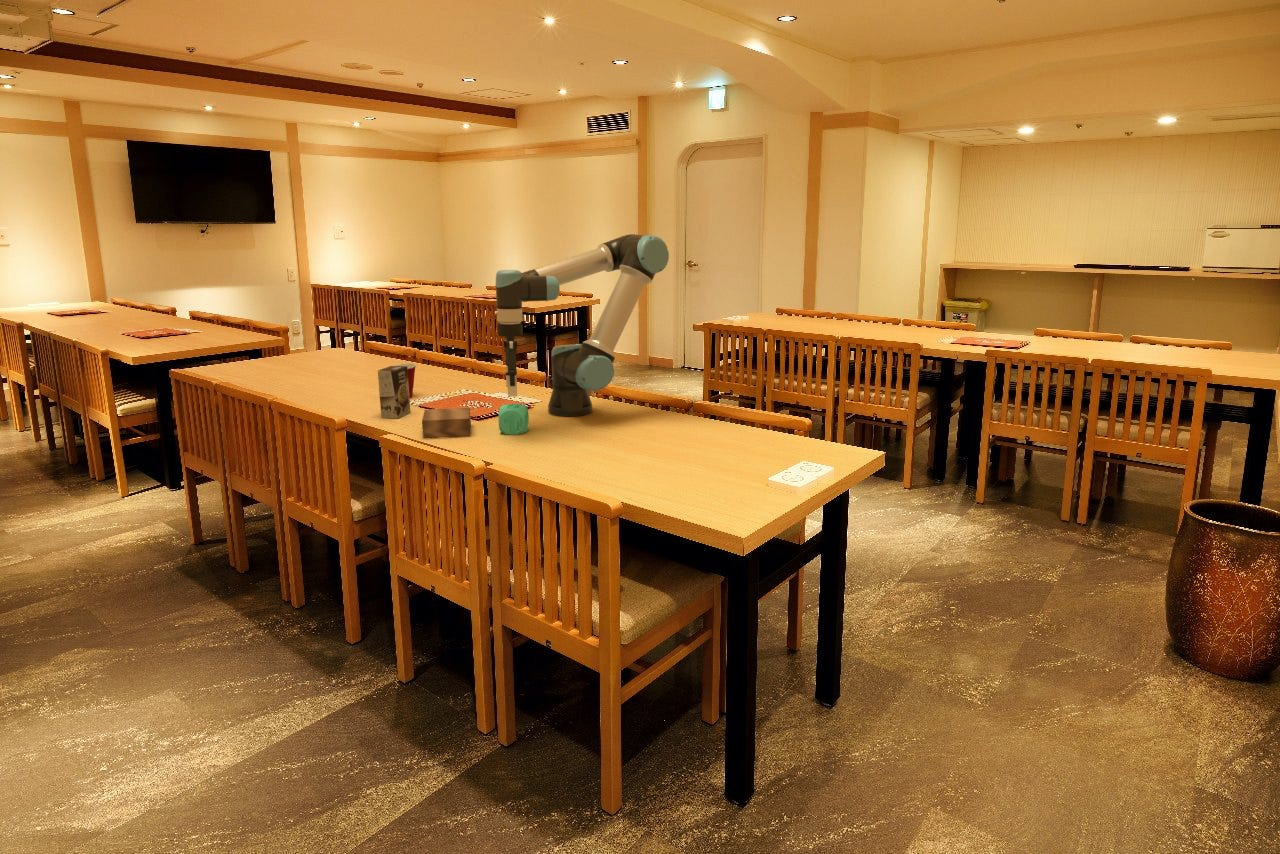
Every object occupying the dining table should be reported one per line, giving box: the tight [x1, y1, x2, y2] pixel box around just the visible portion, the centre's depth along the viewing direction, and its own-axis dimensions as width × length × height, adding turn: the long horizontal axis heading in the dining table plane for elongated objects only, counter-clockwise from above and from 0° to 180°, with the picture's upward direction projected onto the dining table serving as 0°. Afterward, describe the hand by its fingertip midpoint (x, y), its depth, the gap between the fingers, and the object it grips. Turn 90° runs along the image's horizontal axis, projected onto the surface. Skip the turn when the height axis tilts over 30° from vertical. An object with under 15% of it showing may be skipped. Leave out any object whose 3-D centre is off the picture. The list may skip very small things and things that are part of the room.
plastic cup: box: [391, 362, 417, 399], centre depth 290 cm, size 11×11×12 cm
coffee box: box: [377, 365, 412, 419], centre depth 264 cm, size 9×6×16 cm
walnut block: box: [421, 407, 472, 439], centre depth 246 cm, size 14×14×6 cm
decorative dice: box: [498, 403, 530, 436], centre depth 246 cm, size 8×8×8 cm
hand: (511, 391), depth 243 cm, fingers open, 13 cm apart
